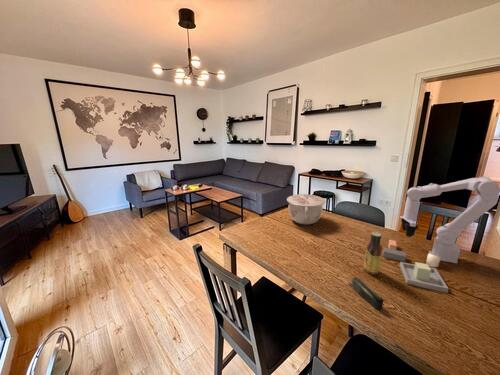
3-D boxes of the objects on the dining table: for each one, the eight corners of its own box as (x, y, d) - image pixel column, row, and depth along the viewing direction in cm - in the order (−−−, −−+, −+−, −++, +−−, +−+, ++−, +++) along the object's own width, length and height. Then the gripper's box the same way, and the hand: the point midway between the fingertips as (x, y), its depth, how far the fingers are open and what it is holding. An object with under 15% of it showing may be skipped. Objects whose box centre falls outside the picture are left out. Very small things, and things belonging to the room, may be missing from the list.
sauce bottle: (365, 265, 102) (369, 228, 97) (379, 270, 99) (385, 232, 93) (361, 272, 98) (366, 234, 92) (377, 277, 94) (383, 238, 89)
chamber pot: (301, 211, 174) (301, 187, 168) (331, 221, 153) (333, 194, 148) (278, 220, 157) (278, 194, 151) (308, 233, 136) (310, 203, 131)
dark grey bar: (385, 298, 76) (353, 272, 90) (379, 301, 75) (348, 274, 89) (383, 309, 78) (352, 282, 91) (377, 311, 77) (346, 284, 90)
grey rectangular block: (383, 253, 113) (383, 247, 112) (404, 258, 108) (405, 252, 107) (382, 257, 109) (383, 251, 108) (404, 263, 104) (406, 256, 103)
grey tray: (434, 272, 96) (435, 268, 95) (447, 293, 84) (448, 288, 83) (399, 265, 101) (400, 261, 101) (406, 284, 89) (407, 279, 89)
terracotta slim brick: (394, 246, 119) (395, 240, 118) (395, 251, 113) (396, 245, 112) (388, 245, 120) (389, 239, 119) (389, 250, 115) (390, 244, 114)
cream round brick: (436, 262, 103) (438, 254, 102) (440, 268, 99) (442, 259, 98) (424, 260, 105) (426, 252, 104) (427, 266, 101) (429, 257, 100)
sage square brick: (425, 275, 94) (427, 264, 92) (428, 281, 90) (431, 270, 88) (413, 272, 96) (415, 262, 94) (416, 278, 92) (418, 267, 90)
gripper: (399, 204, 118) (395, 226, 122) (405, 213, 105) (401, 238, 109) (414, 206, 115) (410, 228, 119) (422, 215, 102) (417, 240, 106)
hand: (406, 233), depth 114 cm, fingers open, 7 cm apart
